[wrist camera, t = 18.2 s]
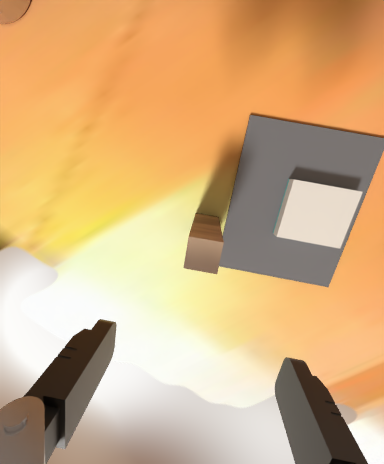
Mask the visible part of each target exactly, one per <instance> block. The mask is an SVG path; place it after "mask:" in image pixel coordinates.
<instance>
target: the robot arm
mask: <svg viewBox="0 0 384 464" xmlns="http://www.w3.org/2000/svg"><path fill="white" fill-rule="evenodd" d="M29 4H30V0H0V24H8V23H12V22H14V21H16V20H18V19H20V17H21V16H22V15H23V14H24V13H25V12H26V10H27V8H28V6H29ZM115 335H116V322H112V321H107V320H102V319H100V320H98V322H97V323H96V324H95V326H94V327H93V328H92V330H88V329H83V330H82V331H80V332H79V333H77V334H76V335H74V336H73V337H72V338H71V340H70V341H69V342H68V343H67V345H66V346H65V348H64V349H63V350H62V351H61V352H60V354H58V357H56V358H55V359H54V360H53V362H52V363H51V364H50V365H49V367H48V368H47V369H46V370H45V372H44V373H43V374H42V375H41V376H40V378H39V379H38V380H37V381H36V383H35V384H34V385H33V386H32V387H31V389H30V390H29V391H28V392H27V393H26V395H24V397H22V398H19V399H16V400H14V401H12V402H10V403H8V404H7V405H6V406H4V407H3V408H1V409H0V464H47V462H48V460H49V458H50V456H51V455H52V452H53V451H54V449H55V447H58V448H62V449H65V448H66V446H67V444H68V442H69V441H70V439H71V437H72V435H73V433H74V431H75V429H76V427H77V425H78V423H79V421H80V419H81V417H82V415H83V414H84V412H85V409H86V408H87V406H88V404H89V402H90V400H91V398H92V396H93V394H94V392H95V390H96V388H97V386H98V384H99V382H100V381H101V379H102V377H103V375H104V373H105V371H106V369H107V367H108V365H109V363H110V361H111V358H112V355H113V352H114V346H115ZM275 395H276V399H277V403H278V406H279V410H280V413H281V416H282V420H283V423H284V426H285V429H286V433H287V437H288V440H289V443H290V447H291V450H292V454H293V457H294V460H295V464H368V463H367V461H366V459H365V457H364V456H363V454H362V452H361V450H360V448H359V446H358V444H357V443H356V441H355V439H354V437H353V435H352V433H351V432H350V430H349V428H348V426H347V424H346V422H345V420H344V419H343V417H341V413H340V412H339V409H338V408H337V406H336V405H335V402H334V400H333V398H332V397H331V395H330V393H329V391H328V389H327V388H326V387H325V386H324V384H323V383H322V382H321V381H320V380H319V379H318V378H317V377H316V376H312V374H311V372H310V370H309V368H308V366H307V364H306V363H305V362H304V361H302V360H297V359H292V358H287V357H286V358H285V359H284V361H283V364H282V366H281V369H280V372H279V374H278V377H277V380H276V383H275Z"/></svg>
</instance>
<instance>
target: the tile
mask: <svg viewBox="0 0 384 464" xmlns="http://www.w3.org/2000/svg"><path fill="white" fill-rule="evenodd" d="M362 193H363V192H361V191H355V190H350V189H344V188H339V187H333V186H328V185H322V184H317V183H311V182H306V181H300V180H295V179H288V182H287V186H286V189H285V192H284V196H283V199H282V203H281V206H280V209H279V213H278V216H277V219H276V223H275V226H274V230H273V234H274V235H275V236H276V237H281V238H286V239H292V240H297V241H302V242H308V243H313V244H318V245H323V246H329V247H334V248H339V249H340V248H341V245H342V243H343V240H344V238H345V235H346V233H347V230H348V228H349V225H350V223H351V220H352V218H353V215H354V213H355V210H356V208H357V205H358V203H359V200H360V198H361V195H362Z"/></svg>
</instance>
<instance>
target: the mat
mask: <svg viewBox="0 0 384 464" xmlns="http://www.w3.org/2000/svg"><path fill="white" fill-rule="evenodd" d="M383 151H384V138H380V137H374V136H368V135H363V134H357V133H351V132H345V131H340V130H334V129H328V128H322V127H317V126H311V125H305V124H300V123H294V122H288V121H282V120H277V119H271V118H265V117H260V116H254V115H250V118H249V122H248V126H247V131H246V135H245V140H244V144H243V149H242V153H241V157H240V162H239V166H238V171H237V175H236V179H235V184H234V188H233V193H232V197H231V202H230V206H229V210H228V215H227V219H226V224H225V228H224V232H223V241H224V244H223V248H222V253H221V258H220V262H219V266H221V267H226V268H231V269H237V270H242V271H247V272H252V273H257V274H263V275H268V276H273V277H278V278H283V279H289V280H294V281H299V282H304V283H309V284H315V285H320V286H325V287H329V284H330V282H331V279H332V277H333V274H334V272H335V269H336V267H337V264H338V262H339V259H340V257H341V254H342V252H343V250H344V247H345V245H346V242H347V240H348V237H349V235H350V232H351V230H352V227H353V225H354V222H355V220H356V217H357V215H358V212H359V210H360V208H361V205H362V203H363V200H364V198H365V195H366V193H367V190H368V188H369V185H370V183H371V180H372V178H373V175H374V173H375V170H376V168H377V166H378V163H379V161H380V158H381V156H382V153H383ZM288 179H295V180H300V181H306V182H311V183H317V184H322V185H328V186H333V187H339V188H344V189H350V190H355V191H361V192H363V193H362V195H361V198H360V200H359V203H358V205H357V208H356V210H355V213H354V215H353V218H352V220H351V223H350V225H349V228H348V230H347V233H346V235H345V238H344V240H343V243H342V245H341V248H340V249H339V248H334V247H329V246H323V245H318V244H313V243H308V242H302V241H297V240H292V239H286V238H281V237H276V236H275V235H274V234H273V230H274V226H275V223H276V219H277V216H278V213H279V209H280V206H281V203H282V199H283V196H284V192H285V189H286V186H287V182H288Z"/></svg>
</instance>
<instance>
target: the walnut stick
mask: <svg viewBox="0 0 384 464" xmlns="http://www.w3.org/2000/svg"><path fill="white" fill-rule="evenodd" d="M223 244H224V241H223V236H222V232H221V227H220V222H219V217H215V216H210V215H204V214H198V213H196V214H195V217H194V221H193V224H192V227H191V231H190V234H189V238H188V244H187V251H186V257H185V263H184V268H186V269H191V270H197V271H202V272H208V273H214V274H217V272H218V267H219V262H220V258H221V253H222V248H223Z"/></svg>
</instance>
